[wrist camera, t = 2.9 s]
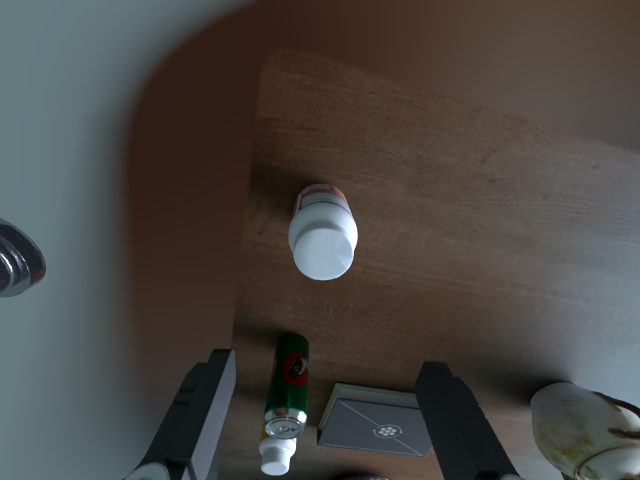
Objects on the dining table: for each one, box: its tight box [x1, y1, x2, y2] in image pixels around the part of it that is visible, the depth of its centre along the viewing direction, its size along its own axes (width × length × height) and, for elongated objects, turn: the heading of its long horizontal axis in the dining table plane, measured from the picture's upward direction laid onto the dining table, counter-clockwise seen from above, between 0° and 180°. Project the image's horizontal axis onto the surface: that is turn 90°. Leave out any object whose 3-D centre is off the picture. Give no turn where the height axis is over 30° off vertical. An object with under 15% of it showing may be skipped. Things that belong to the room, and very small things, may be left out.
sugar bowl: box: [530, 382, 640, 480], centre depth 39 cm, size 20×15×15 cm
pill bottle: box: [288, 184, 357, 280], centre depth 24 cm, size 6×6×11 cm
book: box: [317, 382, 433, 457], centre depth 46 cm, size 22×15×3 cm
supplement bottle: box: [259, 420, 296, 475], centre depth 40 cm, size 6×6×10 cm
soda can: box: [264, 333, 309, 440], centre depth 33 cm, size 5×5×12 cm
